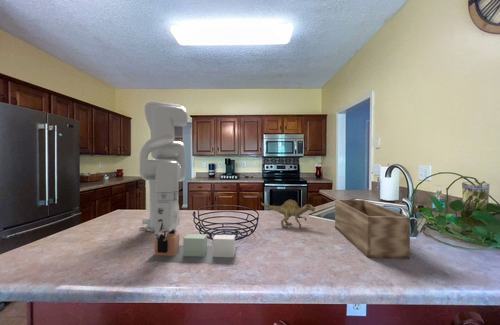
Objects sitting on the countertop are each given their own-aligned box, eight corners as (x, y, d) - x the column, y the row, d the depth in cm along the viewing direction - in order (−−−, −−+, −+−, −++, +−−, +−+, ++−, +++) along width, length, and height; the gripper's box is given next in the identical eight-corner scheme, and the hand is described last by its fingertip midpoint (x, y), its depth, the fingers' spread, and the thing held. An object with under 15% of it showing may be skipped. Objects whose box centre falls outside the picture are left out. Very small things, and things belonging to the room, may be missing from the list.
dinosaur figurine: (315, 229, 102) (315, 202, 102) (260, 226, 107) (260, 199, 107) (313, 225, 110) (313, 199, 110) (262, 222, 115) (262, 197, 114)
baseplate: (145, 263, 68) (145, 261, 68) (164, 247, 81) (164, 245, 81) (233, 266, 67) (233, 264, 67) (237, 249, 80) (237, 247, 80)
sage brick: (183, 255, 72) (183, 238, 72) (187, 250, 76) (187, 234, 76) (203, 256, 72) (203, 238, 72) (206, 251, 76) (207, 234, 76)
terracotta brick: (154, 255, 73) (154, 237, 72) (159, 250, 77) (159, 233, 76) (174, 255, 72) (174, 237, 72) (179, 250, 76) (179, 233, 76)
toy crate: (367, 257, 73) (367, 216, 73) (335, 227, 105) (335, 199, 105) (409, 258, 73) (410, 217, 72) (364, 228, 105) (364, 200, 104)
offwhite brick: (212, 256, 72) (212, 238, 71) (215, 251, 76) (215, 234, 75) (233, 257, 71) (233, 239, 71) (235, 252, 75) (235, 235, 75)
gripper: (166, 201, 65) (166, 260, 66) (186, 192, 83) (186, 239, 83) (142, 201, 66) (142, 259, 66) (167, 192, 83) (167, 238, 83)
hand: (167, 247), depth 74 cm, fingers open, 6 cm apart
